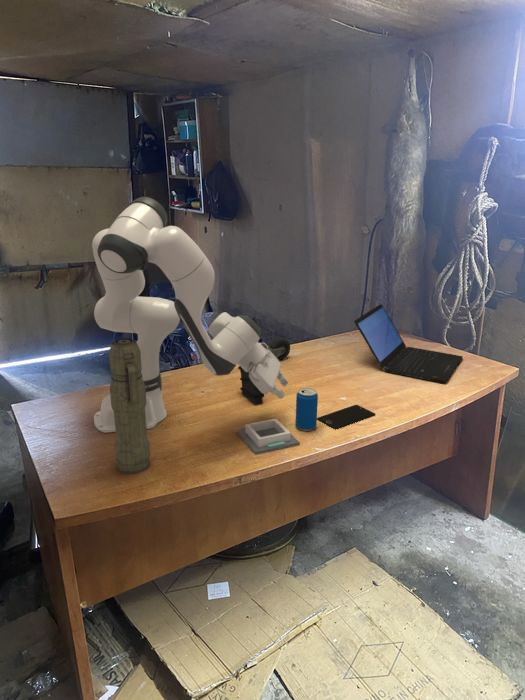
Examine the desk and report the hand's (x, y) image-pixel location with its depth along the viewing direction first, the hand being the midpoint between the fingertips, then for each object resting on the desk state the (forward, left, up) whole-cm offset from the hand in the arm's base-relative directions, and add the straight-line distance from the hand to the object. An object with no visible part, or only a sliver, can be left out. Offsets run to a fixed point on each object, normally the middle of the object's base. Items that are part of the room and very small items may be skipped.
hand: (284, 390), depth 161 cm
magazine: (-1, +24, -12) cm, 27 cm away
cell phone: (+21, -2, -13) cm, 25 cm away
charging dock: (-8, -5, -12) cm, 15 cm away
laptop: (+72, +31, -13) cm, 80 cm away
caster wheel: (+22, +54, -12) cm, 60 cm away
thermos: (-47, -4, -12) cm, 49 cm away
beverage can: (+6, -3, -12) cm, 14 cm away
